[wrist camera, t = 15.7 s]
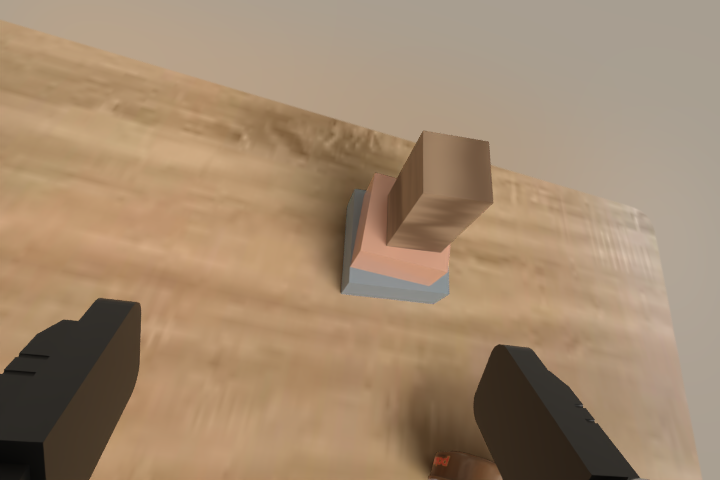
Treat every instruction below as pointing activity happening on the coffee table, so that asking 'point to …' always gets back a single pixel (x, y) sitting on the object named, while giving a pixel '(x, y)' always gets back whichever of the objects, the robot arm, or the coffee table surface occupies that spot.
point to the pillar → (439, 192)
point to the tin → (462, 467)
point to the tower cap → (384, 258)
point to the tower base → (376, 283)
